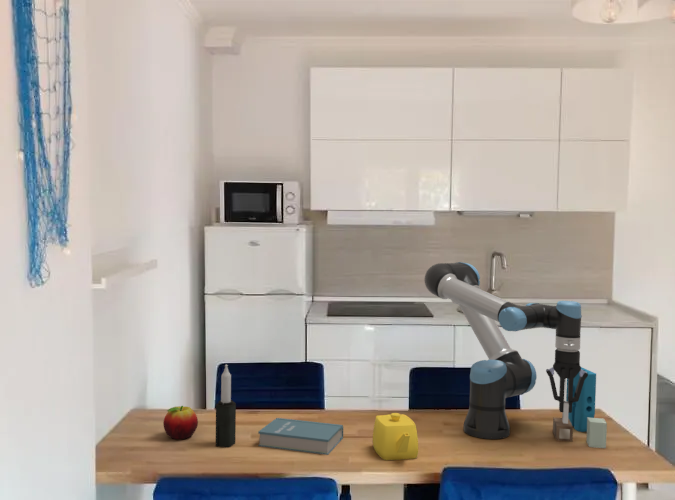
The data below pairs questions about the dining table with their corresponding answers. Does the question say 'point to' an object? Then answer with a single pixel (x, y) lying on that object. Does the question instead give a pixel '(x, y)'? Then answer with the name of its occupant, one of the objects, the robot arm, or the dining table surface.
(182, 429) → the fruit
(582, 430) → the block
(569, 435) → the walnut pillar
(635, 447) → the dining table surface
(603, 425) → the sage pillar
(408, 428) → the teapot
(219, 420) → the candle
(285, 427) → the book
